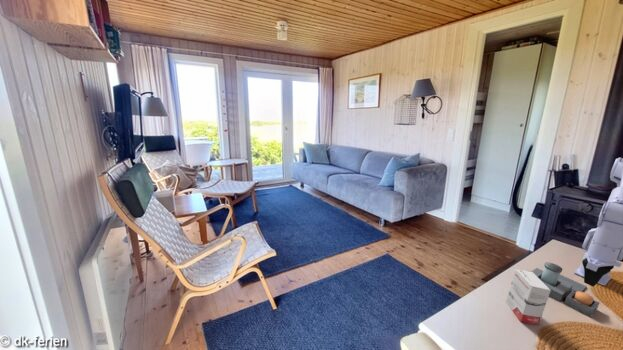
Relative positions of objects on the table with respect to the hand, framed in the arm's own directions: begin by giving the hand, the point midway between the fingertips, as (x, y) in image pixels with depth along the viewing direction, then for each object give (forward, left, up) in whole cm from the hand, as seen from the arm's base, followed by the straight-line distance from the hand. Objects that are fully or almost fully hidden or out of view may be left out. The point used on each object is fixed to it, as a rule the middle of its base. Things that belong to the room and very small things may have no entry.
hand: (589, 283), depth 78 cm
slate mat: (-11, -5, -8) cm, 15 cm away
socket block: (-2, -9, -8) cm, 12 cm away
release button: (0, 0, -7) cm, 7 cm away
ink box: (+20, -8, -9) cm, 23 cm away
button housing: (0, 0, -8) cm, 8 cm away
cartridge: (-2, -9, -8) cm, 12 cm away
